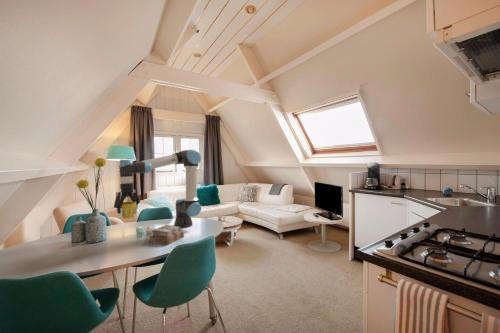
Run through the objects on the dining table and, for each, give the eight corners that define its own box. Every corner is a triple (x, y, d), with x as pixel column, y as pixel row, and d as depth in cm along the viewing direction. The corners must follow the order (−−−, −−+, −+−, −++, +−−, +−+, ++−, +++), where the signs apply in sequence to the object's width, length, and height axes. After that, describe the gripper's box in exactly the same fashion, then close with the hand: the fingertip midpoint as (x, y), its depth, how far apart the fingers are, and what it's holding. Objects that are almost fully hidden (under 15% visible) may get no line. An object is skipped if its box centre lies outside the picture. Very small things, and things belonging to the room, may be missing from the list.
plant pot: (136, 218, 145) (135, 203, 145) (117, 220, 141) (117, 204, 141) (137, 214, 155) (137, 200, 154) (120, 216, 151) (120, 202, 150)
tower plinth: (166, 234, 168) (166, 224, 168) (183, 237, 162) (183, 226, 161) (149, 242, 153) (149, 230, 153) (167, 245, 147) (167, 233, 147)
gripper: (137, 181, 159) (138, 211, 160) (105, 184, 138) (107, 219, 139) (145, 181, 156) (146, 212, 157) (114, 184, 135) (115, 220, 136)
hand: (128, 215), depth 148 cm, fingers closed on plant pot, 10 cm apart
